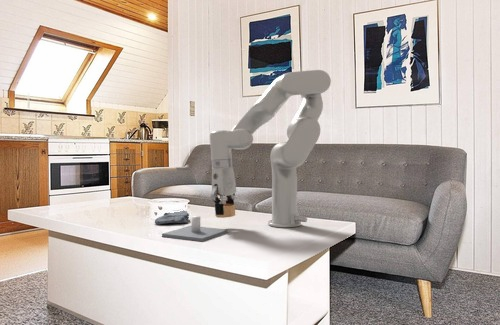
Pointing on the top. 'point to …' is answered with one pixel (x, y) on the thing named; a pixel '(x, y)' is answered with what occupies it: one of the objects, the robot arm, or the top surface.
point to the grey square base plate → (195, 231)
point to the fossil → (173, 218)
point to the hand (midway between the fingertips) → (225, 212)
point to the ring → (227, 210)
